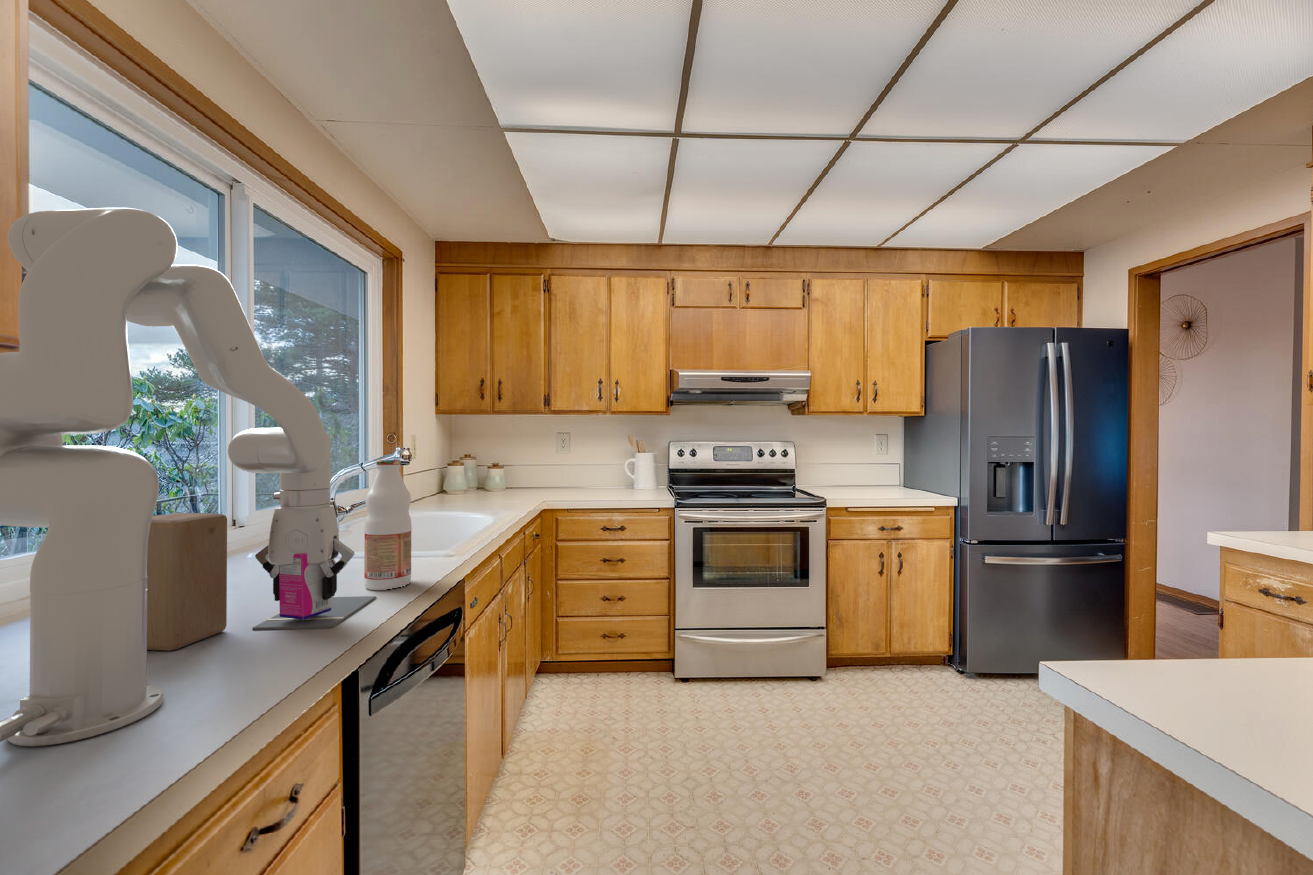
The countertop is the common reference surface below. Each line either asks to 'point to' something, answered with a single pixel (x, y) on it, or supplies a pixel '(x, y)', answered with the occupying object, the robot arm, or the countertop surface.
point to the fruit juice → (387, 530)
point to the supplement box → (301, 589)
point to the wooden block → (186, 579)
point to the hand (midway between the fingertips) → (305, 597)
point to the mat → (338, 613)
